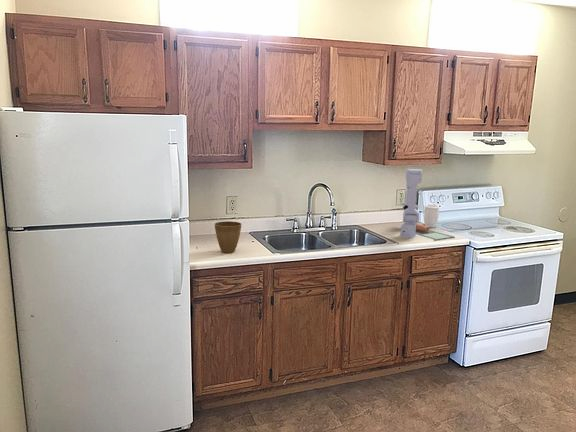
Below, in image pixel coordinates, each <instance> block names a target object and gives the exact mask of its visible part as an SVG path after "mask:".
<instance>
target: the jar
mask: <svg viewBox="0 0 576 432" xmlns="http://www.w3.org/2000/svg"><path fill="white" fill-rule="evenodd" d="M439 208H440V206H439V205H435V204H434V205H433V204H424V211H423V222H424V223H423V224H425V226H427V227H430V228H436V227H437V223H438V219H439V215H440V214H439V213H440V210H439Z"/></svg>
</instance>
